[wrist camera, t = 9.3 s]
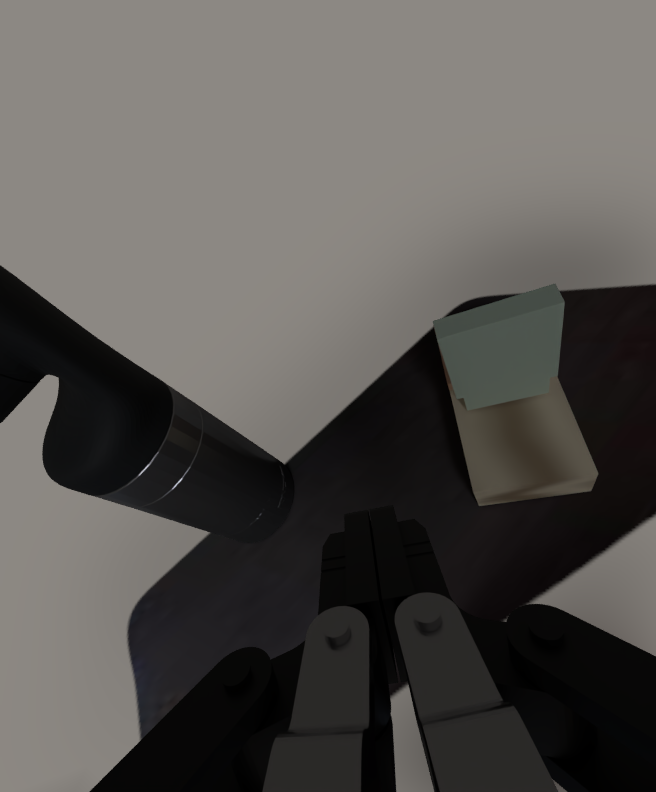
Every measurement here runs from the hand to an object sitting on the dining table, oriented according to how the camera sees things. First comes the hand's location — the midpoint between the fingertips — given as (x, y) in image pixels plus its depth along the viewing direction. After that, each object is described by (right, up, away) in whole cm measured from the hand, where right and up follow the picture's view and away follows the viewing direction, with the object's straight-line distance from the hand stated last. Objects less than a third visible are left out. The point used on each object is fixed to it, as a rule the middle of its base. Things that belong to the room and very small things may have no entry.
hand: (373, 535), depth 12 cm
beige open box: (+14, 0, +20) cm, 25 cm away
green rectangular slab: (+13, +5, +19) cm, 23 cm away
